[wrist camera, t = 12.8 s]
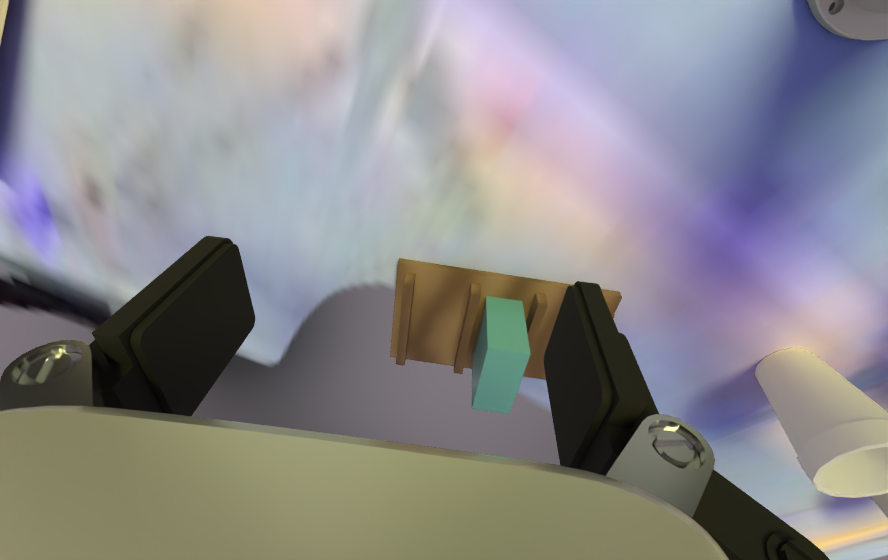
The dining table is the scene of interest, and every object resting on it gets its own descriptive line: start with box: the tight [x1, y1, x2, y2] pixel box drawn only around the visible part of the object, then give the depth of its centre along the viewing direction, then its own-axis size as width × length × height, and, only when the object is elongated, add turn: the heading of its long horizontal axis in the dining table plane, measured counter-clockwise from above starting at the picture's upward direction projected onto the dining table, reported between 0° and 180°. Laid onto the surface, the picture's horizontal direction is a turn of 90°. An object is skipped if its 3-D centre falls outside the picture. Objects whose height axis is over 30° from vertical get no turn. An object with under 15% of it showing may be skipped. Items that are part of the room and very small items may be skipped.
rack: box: [390, 259, 622, 379], centre depth 45 cm, size 24×14×3 cm, turn 82°
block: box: [472, 296, 530, 414], centre depth 42 cm, size 4×9×8 cm, turn 173°
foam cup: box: [754, 348, 888, 498], centre depth 42 cm, size 10×9×13 cm
